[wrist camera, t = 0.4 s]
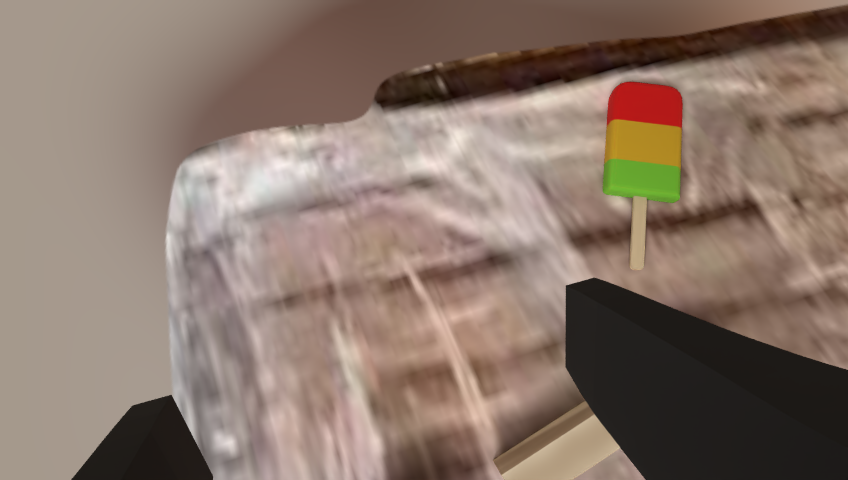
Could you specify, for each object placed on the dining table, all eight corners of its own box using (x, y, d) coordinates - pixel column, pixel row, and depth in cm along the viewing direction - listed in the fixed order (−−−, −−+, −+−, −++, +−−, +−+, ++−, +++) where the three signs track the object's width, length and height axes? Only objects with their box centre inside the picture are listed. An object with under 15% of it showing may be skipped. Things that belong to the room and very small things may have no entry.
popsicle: (674, 96, 40) (686, 85, 38) (667, 276, 37) (680, 273, 35) (607, 88, 40) (615, 76, 38) (595, 266, 37) (603, 263, 35)
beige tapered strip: (695, 371, 35) (729, 375, 31) (511, 492, 34) (523, 512, 30) (674, 341, 36) (705, 341, 32) (492, 459, 34) (501, 475, 30)
